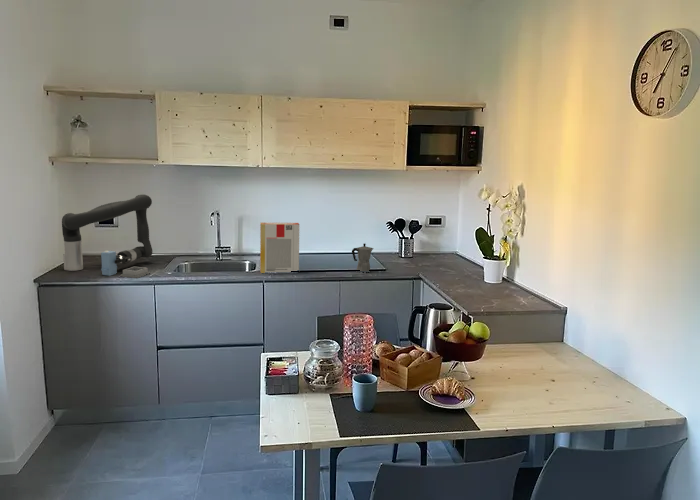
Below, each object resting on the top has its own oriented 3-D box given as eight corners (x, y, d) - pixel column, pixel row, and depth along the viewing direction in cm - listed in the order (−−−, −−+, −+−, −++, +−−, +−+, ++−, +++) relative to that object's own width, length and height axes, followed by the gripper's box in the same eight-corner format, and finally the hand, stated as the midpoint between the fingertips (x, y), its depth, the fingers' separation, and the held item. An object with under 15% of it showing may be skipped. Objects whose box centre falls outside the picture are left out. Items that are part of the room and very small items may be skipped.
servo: (100, 275, 308) (99, 251, 306) (111, 272, 317) (109, 248, 314) (108, 276, 307) (106, 252, 304) (118, 273, 315) (117, 249, 313)
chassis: (120, 276, 307) (120, 270, 306) (133, 272, 318) (133, 266, 318) (137, 278, 304) (137, 271, 304) (150, 273, 316) (149, 267, 315)
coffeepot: (368, 269, 346) (369, 241, 343) (376, 272, 338) (377, 244, 335) (347, 271, 339) (348, 243, 335) (355, 274, 330) (356, 245, 327)
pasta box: (297, 270, 337) (298, 222, 331) (298, 273, 329) (299, 224, 323) (260, 270, 333) (260, 222, 327) (260, 273, 325) (260, 224, 319)
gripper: (116, 249, 327) (97, 254, 311) (137, 251, 323) (119, 255, 308) (117, 261, 328) (98, 266, 313) (137, 263, 325) (119, 268, 309)
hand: (108, 261), depth 310 cm, fingers open, 8 cm apart
